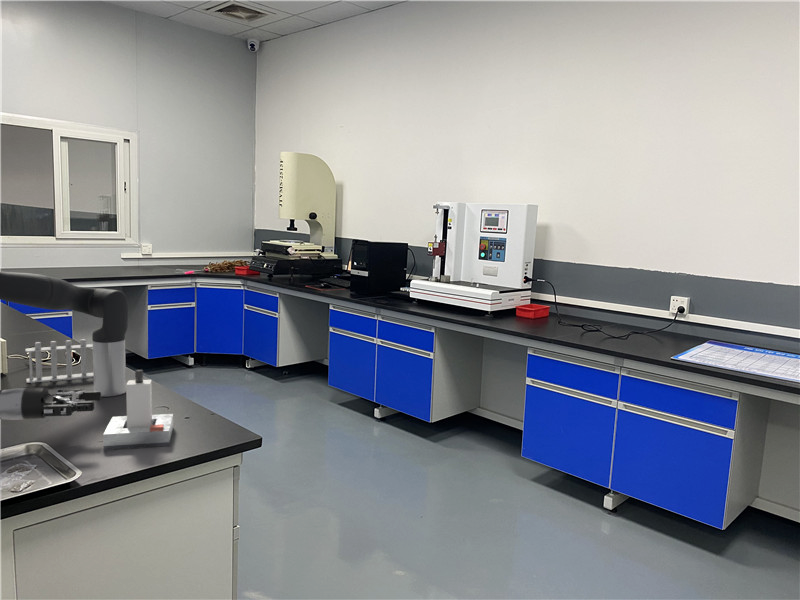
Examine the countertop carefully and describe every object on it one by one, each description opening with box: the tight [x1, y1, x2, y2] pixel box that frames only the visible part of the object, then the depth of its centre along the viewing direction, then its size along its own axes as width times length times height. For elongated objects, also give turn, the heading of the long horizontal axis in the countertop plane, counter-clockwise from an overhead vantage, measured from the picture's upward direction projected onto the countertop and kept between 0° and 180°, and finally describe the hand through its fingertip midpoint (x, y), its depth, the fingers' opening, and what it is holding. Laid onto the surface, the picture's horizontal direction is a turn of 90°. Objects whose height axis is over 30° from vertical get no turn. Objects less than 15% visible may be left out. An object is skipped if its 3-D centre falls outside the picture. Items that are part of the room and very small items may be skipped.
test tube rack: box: [25, 338, 93, 384], centre depth 202 cm, size 25×4×13 cm, turn 123°
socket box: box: [102, 413, 174, 451], centre depth 153 cm, size 13×15×5 cm
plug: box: [125, 369, 153, 428], centre depth 152 cm, size 4×6×17 cm
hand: (97, 400), depth 149 cm, fingers open, 8 cm apart
